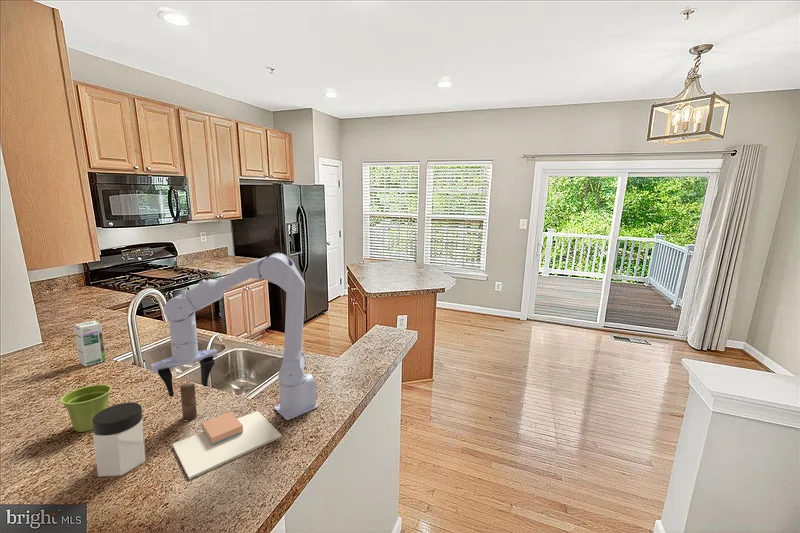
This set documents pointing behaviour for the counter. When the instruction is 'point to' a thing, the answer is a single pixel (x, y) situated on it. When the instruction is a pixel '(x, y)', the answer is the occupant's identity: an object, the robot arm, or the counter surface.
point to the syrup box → (90, 343)
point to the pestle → (188, 401)
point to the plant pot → (86, 405)
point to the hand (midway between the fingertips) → (188, 389)
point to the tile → (222, 428)
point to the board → (224, 445)
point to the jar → (119, 439)
